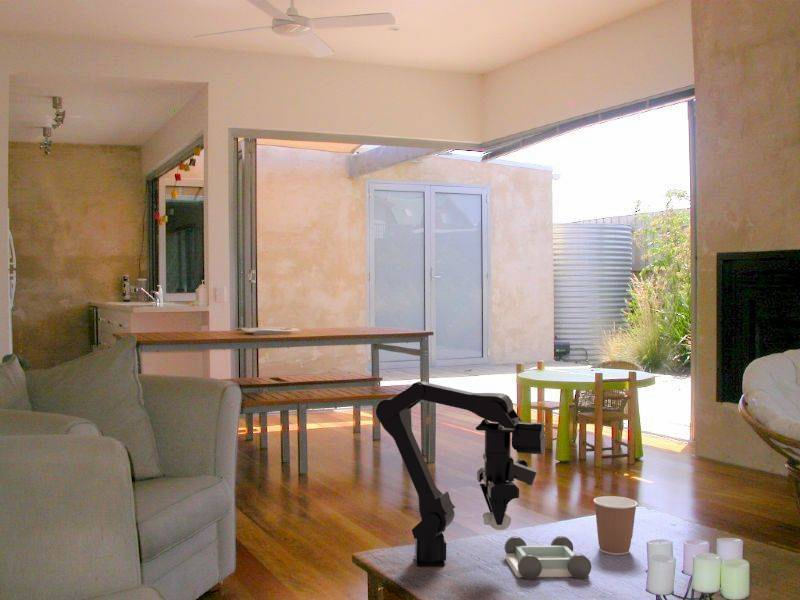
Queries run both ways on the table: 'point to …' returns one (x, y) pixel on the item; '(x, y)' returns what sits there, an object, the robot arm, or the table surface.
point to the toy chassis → (546, 559)
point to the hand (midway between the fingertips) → (496, 521)
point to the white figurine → (491, 521)
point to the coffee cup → (615, 523)
